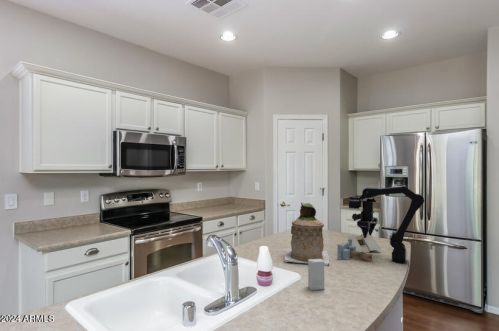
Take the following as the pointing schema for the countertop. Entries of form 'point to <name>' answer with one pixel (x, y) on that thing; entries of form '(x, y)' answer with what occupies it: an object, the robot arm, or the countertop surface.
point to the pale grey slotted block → (364, 243)
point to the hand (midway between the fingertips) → (367, 236)
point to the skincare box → (316, 274)
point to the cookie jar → (306, 238)
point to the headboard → (345, 250)
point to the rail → (360, 256)
